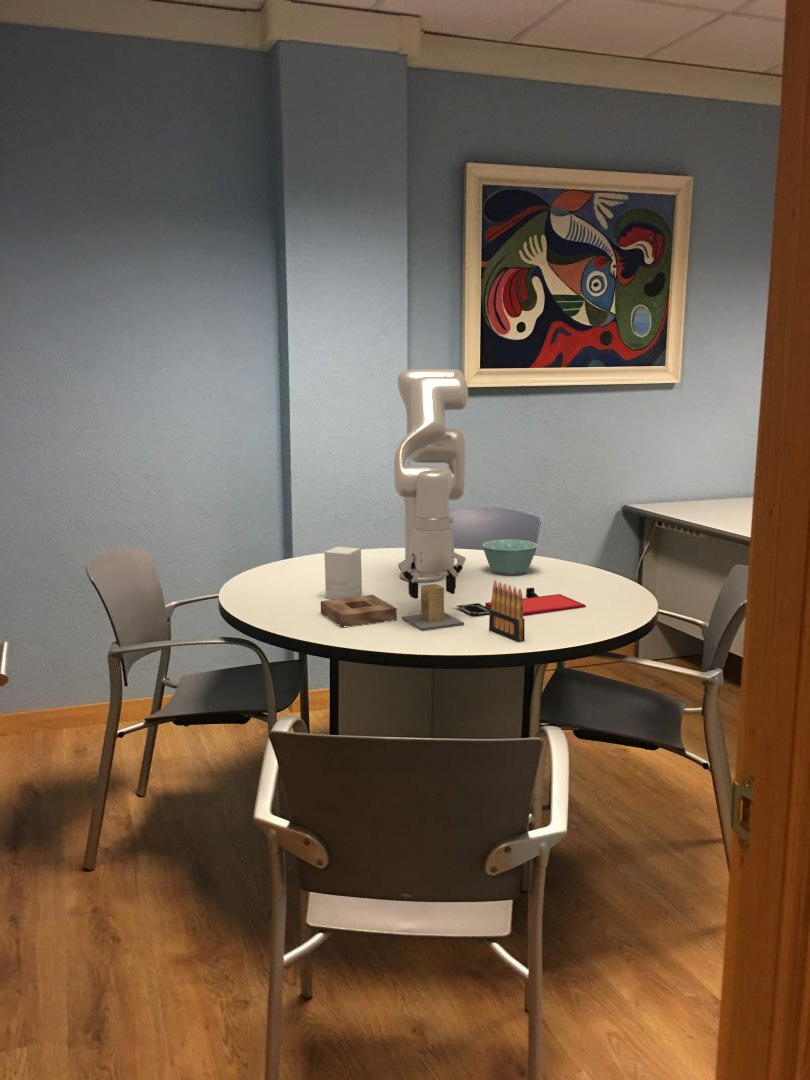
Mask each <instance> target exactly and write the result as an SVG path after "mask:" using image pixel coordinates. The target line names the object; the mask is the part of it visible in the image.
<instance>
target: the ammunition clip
mask: <svg viewBox="0 0 810 1080" xmlns="http://www.w3.org/2000/svg"><path fill="white" fill-rule="evenodd" d="M517 590H518V591H517ZM491 592H492V593H491V598H490V599H491V601H490V602H491V609H490V613H489V619H488V620H489V621H488V623H489V624H488V627H489V628H488V631H489V632H491V633H493V634H496V635H498V636H501V637H504V638H506V639H509V640H510V641H514V642H516V643H521V642H525V618H524V616H523V601H522V598H523V591H522V589H521V588H520V587H519V589H517V588H516V586H514V587H513V588H512V586H511V584H509V585H508V587H507V584H506V583H504V584H502V581H498V583H497V580H494V581H493V585H492V591H491Z"/></svg>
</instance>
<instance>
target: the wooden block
mask: <svg viewBox="0 0 810 1080" xmlns="http://www.w3.org/2000/svg"><path fill="white" fill-rule="evenodd" d="M444 604H445V588H444V587H443V586H441V585H439V584H437V583H433V584H425V585H420V614H421V619H423V620H425V621H427V622H436V621H443V620H444V612H445V605H444Z"/></svg>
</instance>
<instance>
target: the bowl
mask: <svg viewBox="0 0 810 1080" xmlns="http://www.w3.org/2000/svg"><path fill="white" fill-rule="evenodd" d="M481 546H482V549H483V553H484V555H485V557H486V561H487V563H488V566H489V568H490V570H491V571H493V572H494V573H495V574H497V575H503V576H504V575H505V576H517V575H522V574H524V573H526V571H528V570H529V569H530V566H531V564H532V562H533V559H534V556H535V553H536V550H537V547H538V545H537V543H535V542H534V541H533V542H532V541H529V540H522V539H497V540H496V539H494V540H490V541H489V540H488V541H486V542H483V543H482V545H481Z"/></svg>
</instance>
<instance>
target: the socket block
mask: <svg viewBox="0 0 810 1080" xmlns="http://www.w3.org/2000/svg"><path fill="white" fill-rule="evenodd" d="M397 611H398V610H397V607H396V606H394V605H392V604H390V603H388V602H386V601H385V600H383V599H381V598H379V597H378V596H376V595H374V594H369V595H368V594H367V595H361V596H358V597H350V598H342V599H327V600H326V599H325V600H320V614H321V615H323V616H324V615H325V616H324V617H326V616H327V617H328V619H329V618H330V619H331V620H330V619H329V620H330V621H332V620H333V621H334V622H333V621H332V622H333V623H335V622H336V623H337V624H339V625H340V626H342V627H344V626H351V627H354V626H353V625H359V626H363V625H362V624H366V625H369V624H368V623H373V624H377V623H376V622H380V623H385V622H384V621H388V622H393V621H392V620H395V621H397V619H398V617H397V615H398V614H397V613H398V612H397ZM327 617H326V618H327ZM336 623H335V624H336ZM337 624H336V625H337ZM339 625H338V626H339ZM340 626H339V627H340ZM342 627H341V628H342ZM344 628H345V627H344Z"/></svg>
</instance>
